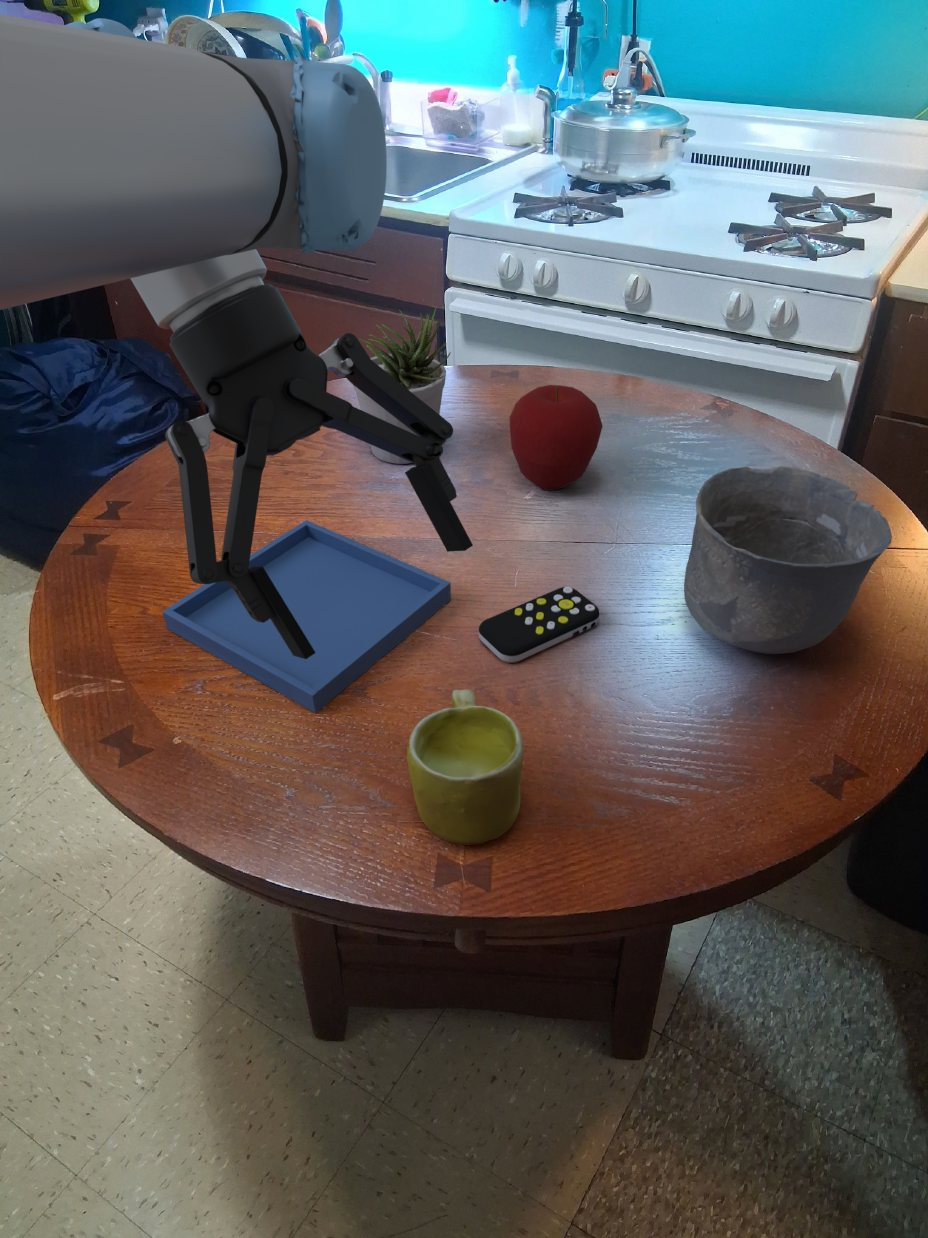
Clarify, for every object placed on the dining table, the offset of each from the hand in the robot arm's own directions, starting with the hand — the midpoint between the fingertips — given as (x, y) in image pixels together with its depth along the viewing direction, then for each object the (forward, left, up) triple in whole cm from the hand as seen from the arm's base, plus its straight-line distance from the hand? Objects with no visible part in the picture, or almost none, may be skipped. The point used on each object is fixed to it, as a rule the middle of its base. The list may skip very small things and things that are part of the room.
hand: (385, 599), depth 60 cm
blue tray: (+15, +25, -22) cm, 36 cm away
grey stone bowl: (+40, -16, -23) cm, 48 cm away
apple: (+54, +18, -23) cm, 61 cm away
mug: (+5, -3, -23) cm, 23 cm away
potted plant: (+49, +39, -23) cm, 66 cm away
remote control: (+27, +3, -23) cm, 35 cm away
